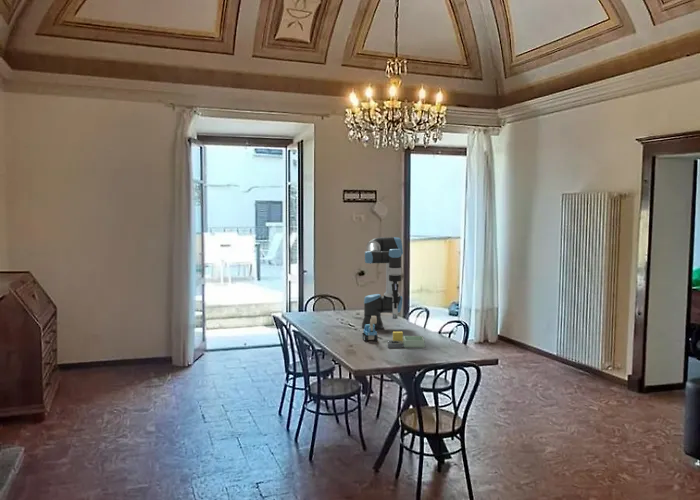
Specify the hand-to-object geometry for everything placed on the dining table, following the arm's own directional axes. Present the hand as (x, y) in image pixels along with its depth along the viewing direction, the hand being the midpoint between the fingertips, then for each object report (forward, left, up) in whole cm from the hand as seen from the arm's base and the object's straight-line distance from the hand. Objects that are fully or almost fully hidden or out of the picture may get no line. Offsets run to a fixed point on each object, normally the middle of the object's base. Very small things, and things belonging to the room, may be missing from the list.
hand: (395, 313), depth 360 cm
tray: (-2, +11, -20) cm, 23 cm away
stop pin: (0, 0, -3) cm, 3 cm away
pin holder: (0, 0, -20) cm, 20 cm away
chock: (-13, +2, -21) cm, 24 cm away
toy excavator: (-15, -14, -21) cm, 29 cm away
